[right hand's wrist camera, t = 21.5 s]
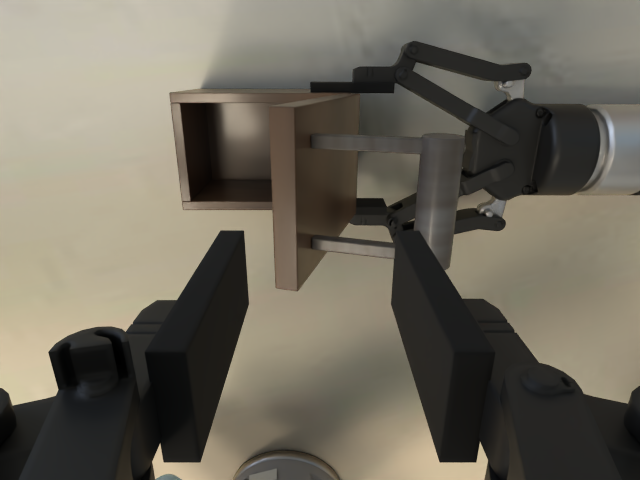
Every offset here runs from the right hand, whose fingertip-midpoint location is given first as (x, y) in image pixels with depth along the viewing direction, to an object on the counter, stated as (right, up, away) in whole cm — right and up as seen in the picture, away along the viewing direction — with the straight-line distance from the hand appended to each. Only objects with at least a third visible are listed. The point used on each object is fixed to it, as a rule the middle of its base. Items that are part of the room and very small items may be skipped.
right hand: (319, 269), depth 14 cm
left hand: (-1, +9, +22) cm, 24 cm away
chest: (-5, +11, +28) cm, 30 cm away
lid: (0, +5, +13) cm, 14 cm away
